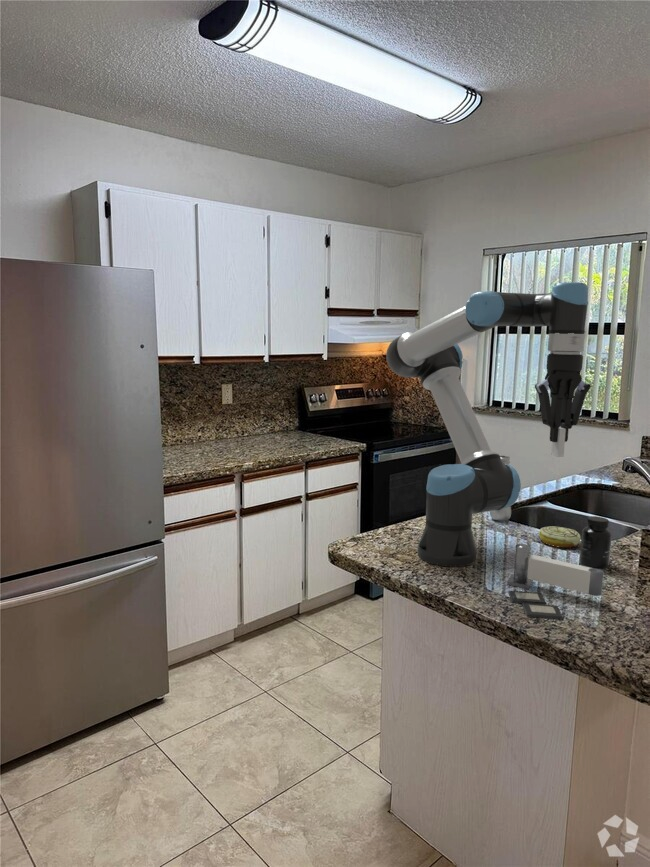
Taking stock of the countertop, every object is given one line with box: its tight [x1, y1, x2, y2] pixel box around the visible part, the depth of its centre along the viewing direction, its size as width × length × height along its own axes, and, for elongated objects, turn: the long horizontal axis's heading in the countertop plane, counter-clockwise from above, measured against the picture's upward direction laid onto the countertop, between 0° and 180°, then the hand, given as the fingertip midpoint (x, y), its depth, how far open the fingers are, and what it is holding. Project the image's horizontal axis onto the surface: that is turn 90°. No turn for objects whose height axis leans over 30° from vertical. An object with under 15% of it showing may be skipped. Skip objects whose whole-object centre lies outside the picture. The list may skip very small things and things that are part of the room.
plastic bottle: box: [489, 455, 512, 522], centre depth 186 cm, size 6×7×20 cm
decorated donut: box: [538, 525, 582, 548], centre depth 168 cm, size 10×11×4 cm
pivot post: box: [506, 543, 534, 590], centre depth 140 cm, size 5×5×9 cm
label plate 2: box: [522, 603, 564, 620], centre depth 126 cm, size 7×5×1 cm
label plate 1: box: [508, 590, 547, 605], centre depth 132 cm, size 7×5×1 cm
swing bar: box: [527, 554, 605, 597], centre depth 134 cm, size 16×3×5 cm, turn 54°
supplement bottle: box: [579, 515, 613, 570], centre depth 151 cm, size 7×7×12 cm
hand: (557, 455), depth 140 cm, fingers closed
